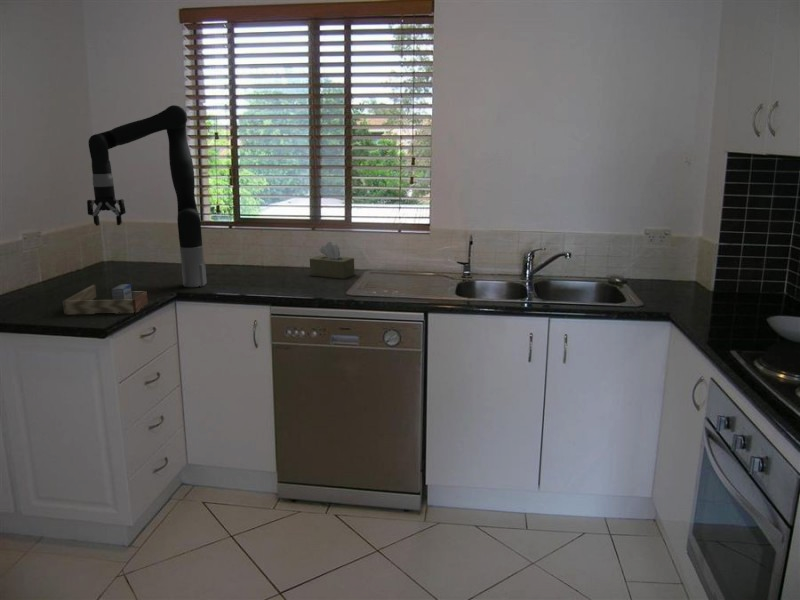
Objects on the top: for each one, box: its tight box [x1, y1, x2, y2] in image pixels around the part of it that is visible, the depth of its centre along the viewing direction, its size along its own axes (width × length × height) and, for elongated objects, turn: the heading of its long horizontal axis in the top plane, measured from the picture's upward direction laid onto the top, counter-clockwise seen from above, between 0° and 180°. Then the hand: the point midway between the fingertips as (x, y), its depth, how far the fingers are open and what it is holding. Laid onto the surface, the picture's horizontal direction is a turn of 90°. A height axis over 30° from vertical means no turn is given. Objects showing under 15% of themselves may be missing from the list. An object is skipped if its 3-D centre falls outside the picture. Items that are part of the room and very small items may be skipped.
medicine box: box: [111, 283, 132, 300], centre depth 249 cm, size 8×4×9 cm, turn 3°
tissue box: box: [309, 241, 355, 280], centre depth 304 cm, size 19×10×16 cm, turn 63°
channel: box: [62, 284, 149, 315], centre depth 255 cm, size 26×27×5 cm
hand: (108, 225), depth 269 cm, fingers open, 8 cm apart
